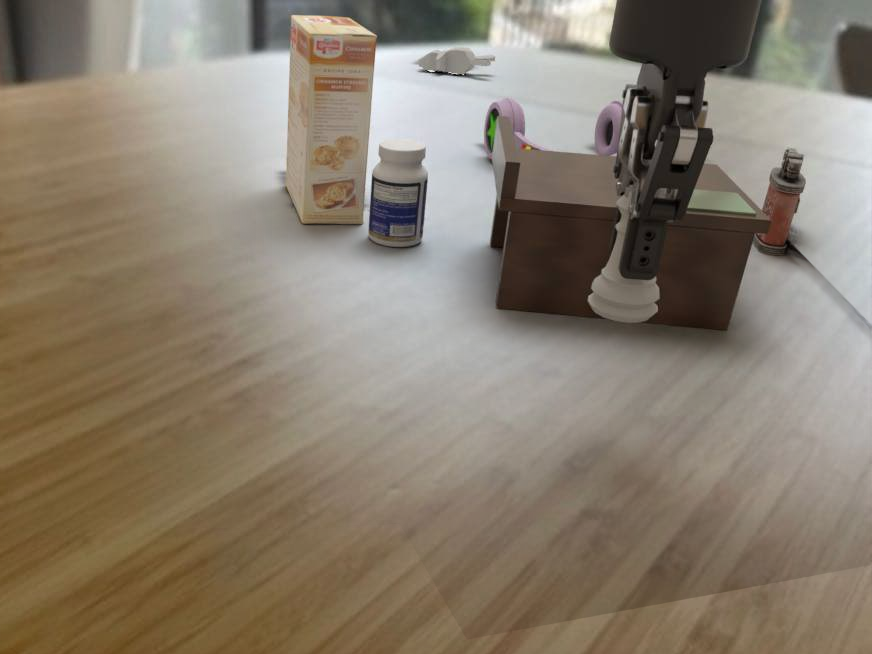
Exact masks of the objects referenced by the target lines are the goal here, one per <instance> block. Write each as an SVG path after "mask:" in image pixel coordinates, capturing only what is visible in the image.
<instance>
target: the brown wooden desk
mask: <svg viewBox="0 0 872 654" xmlns="http://www.w3.org/2000/svg"><path fill="white" fill-rule="evenodd" d="M491 162H492V168H493V169H492V170H493V177H494V185H495V190H496V191H495V192H496V195H495V196H496V197H495V203H494V210H493V215H492V217H493V218H492V224H491V232H490V239H489V245H490V246H489V247H492V248H503V249H502V256H501V260H500V261H501V262H500V269H499V275H498V281H497V288H496V294H495V295H496V297H495V308H496V309H500V310H501V309H502V310H512V311H523V312H534V313H542V314H543V313H545V314H554V315H563V316H564V315H566V316H573V317H574V316H575V317H586V318H595V319H596V318H597V319H607V318H604V317H602V316H600V315H598V314H597V313H595V312H594V310H593V309H592V308H591V306H590V304H589V302H588V296H589V295H591V294H592V293H594V292H593V290H592V289H591V287H592V283H593V281H594V279H595V278H596V277H598V276H599V275H601V271H602V269H603V268H605V267H606V265H607V263H608V261H609V259H610V256H611V251H610V248H609V245H610V240H611V235H612V230H613V225H614V220H615V215H616V210H617V200H619V198H621V197H622V196H617V190H616V183H617V182H618V180H619V179H615V176H614V172H613V170H614V165H615V164H616V156H605V155H598V154H591V153H581V152H568V151H567V152H566V151H557V150H556V151H555V150H552V151H544V150H531V149H519V148H517V146H516V142H515V138H514V134H513V130H512V125H511V121H510V117H505V116H497V123H496V130H495V138H494V145H493V152H492V159H491ZM662 189H665V190H664V192H666V190H667V188H662ZM771 222H772V220H771V219H770V218H769V217H768V216H767V215H766V214H765V213H764V212H763V211H762V209H761V208H760V206H758V205H757V204H756V203H755V202H754V201H753V200H752V198H751V197H749V196H748V195H747V193H745V191H743V190H742V189H741V188H740V187H739V185H737V184H736V182H735V181H734V180H733V179H732V178H731V177H730V176H729V175H727V173H726V172H724V170H723V169H722V168H721V167H720V166H719V165H718V164H715V163H704V165H703V168H702V170H701V173H700V175H699V178H698V181H697V183H696V186H695V189H694V191H693V194H692V197H691V199H690V202H689V204H688V207H687V210H686V214H685V215H684V218H683V220H682V221H673V222H668V228H667V232H666V236H665V241H664V245H663V249H662V254H661V258H660V262H659V267H658V271H657V275H656V282H655V283H656V284H657V286H658V287H659V297H660V299H658V300H657V301H656V302H654V303H655V304H656V305H657V306H658V312H656V313H655V314H654V315H653V316H652V317H650V318H649V319H648V320H646V321H642V322H641V323H649V324H657V325H658V324H659V325H668V326H669V325H670V326H679V327H690V328H700V329H701V328H702V329H709V330H710V329H711V330H720V331H721V330H722V331H727V330H729V326H730V322H731V319H732V315H733V312H734V309H735V305H736V301H737V298H738V296H739V295H738V294H739V291H740V288H741V284H742V280H743V277H744V273H745V271H746V267H747V263H748V260H749V256H750V252H751V250H752V246H753V239H754V236H755V233H759V234H768V232H769V229H770V225H771ZM607 320H608V319H607Z"/></svg>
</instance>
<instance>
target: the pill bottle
mask: <svg viewBox="0 0 872 654" xmlns="http://www.w3.org/2000/svg"><path fill="white" fill-rule="evenodd" d="M426 150H427V146H426V144H425V143H423V142H422V141H418V140H414V139H407V138H390V139H384V140H382V141H380V142H379V144H378V156H379V158H380V161H379V162H378V163H376V165H374V167H373V169H372V172H371V185H370V186H371V187H370V200H369V215H368V231H367V232H368V233H367V234H368V238H370V240H371V241H373V243H376V244H378V245H380V246H385V247H391V248H407V247H413V246H415V245H418V244H419V243H420V242H421V241H422V239H423V236H424V227H425V214H426V203H427V191H428V183H429V181H428V180H429V173H428V170H427V169H426V166H424V165H423V161H424V159H426V153H427V151H426Z"/></svg>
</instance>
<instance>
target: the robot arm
mask: <svg viewBox="0 0 872 654" xmlns="http://www.w3.org/2000/svg"><path fill="white" fill-rule="evenodd" d="M762 1H763V0H616V2H615V7H614V8H615V9H614V12H613V19H612V24H611V30H610V34H609V35H610V36H609V41H608V47H609V50H610V52H611V53H612V54H613V55H614V56H616V57H617V58H619V59H622V60H626V61H629V62H632V63H633V62H634V63H637V64H641V66H640V70H639V72H638V76H637V79H636V84H631V83H627V84H626V85H625V86H624V89H623V91H622V95H621V97H622V101H623V105H622V113H621V122H620V130H619V139H618V147H617V155H616V164H615V165H614V170H613V172H614V176H615V179H619V180H618V182H617V183H616V190H617V196H623V195H624V194H625V190H626V187H629V185H633V190H632V196H631V203H630V205H629V207H628V213H629V218H628V223H627V228H626V233H625V238H624V242H623V247H622V252H621V257H620V262H619V267H618V269H619V272H620V274H621V276H622V277H623V278H626V279H637V280H652V279H653V278H655V276H656V275H657V271H658V267H659V262H660V258H661V254H662V249H663V245H664V241H665V236H666V232H667V228H668V222H673V221H682V220H683V218H684V215H685V214H686V210H687V207H688V204H689V202H690V199H691V197H692V194H693V191H694V189H695V186H696V183H697V181H698V178H699V175H700V173H701V170H702V168H703V165H704V164H705V162H706V159H707V157H708V154H709V151H710V149H711V146H712V145H713V142H714V131H713V128H712V127H706V123H707V118H708V112H709V101H708V100H705V99H704V95H705V89H706V88H705V87H706V80H705V79H706V78H707V74H708V73H709V72H710V71H712V70H713V69H723V70H724V69H726V70H727V69H731V68H732V69H733V68H735V67H738V66H740V65H742V64H743V63H744V62H746V60H747V59H748V56H749V52H750V49H751V44H752V40H753V36H754V32H755V28H756V25H757V20H758V16H759V13H760V8H761V4H762ZM661 188H667V190H666V196H665V198H654V196H655V193H656V191H657V190H658V189H661ZM619 199H620V198H619ZM621 217H622V214H621V212H620V210H619V208H618V206H617V210H616V215H615V220H614V225H613V230H612V235H611V240H610V245H609V248H610V251H611V253H612V251H613V248H614V245H615V242H616V238H617V233H618V231H617V230H616V228H615V227H616V224H618V223H619V222H620V220H621Z"/></svg>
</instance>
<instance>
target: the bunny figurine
mask: <svg viewBox="0 0 872 654" xmlns="http://www.w3.org/2000/svg"><path fill="white" fill-rule="evenodd" d="M492 62H496V56H495V55H494V54H487V55H479V56H476V55H475V54H474V51H472V49H470V48H469V47H464V46H462V47H461V46H458V47H453V48H450V49H446V50H442V51H441V50H439V49H436V50H435V49H433V50H432V51H430V52H428V53H427V54H425V55H424V56H422V57H419V58H418V68H422V69H423V70H424V71H425V70H433V71H437V72H441V71H442V73H446V72H451V73H458V74H457V75H460V74H465V73H466V72H467V73H469V72H470V71H471V70H473V69H474V67H475V66H479V67H491V64H492ZM467 73H466V74H467ZM466 74H465V75H466Z"/></svg>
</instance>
